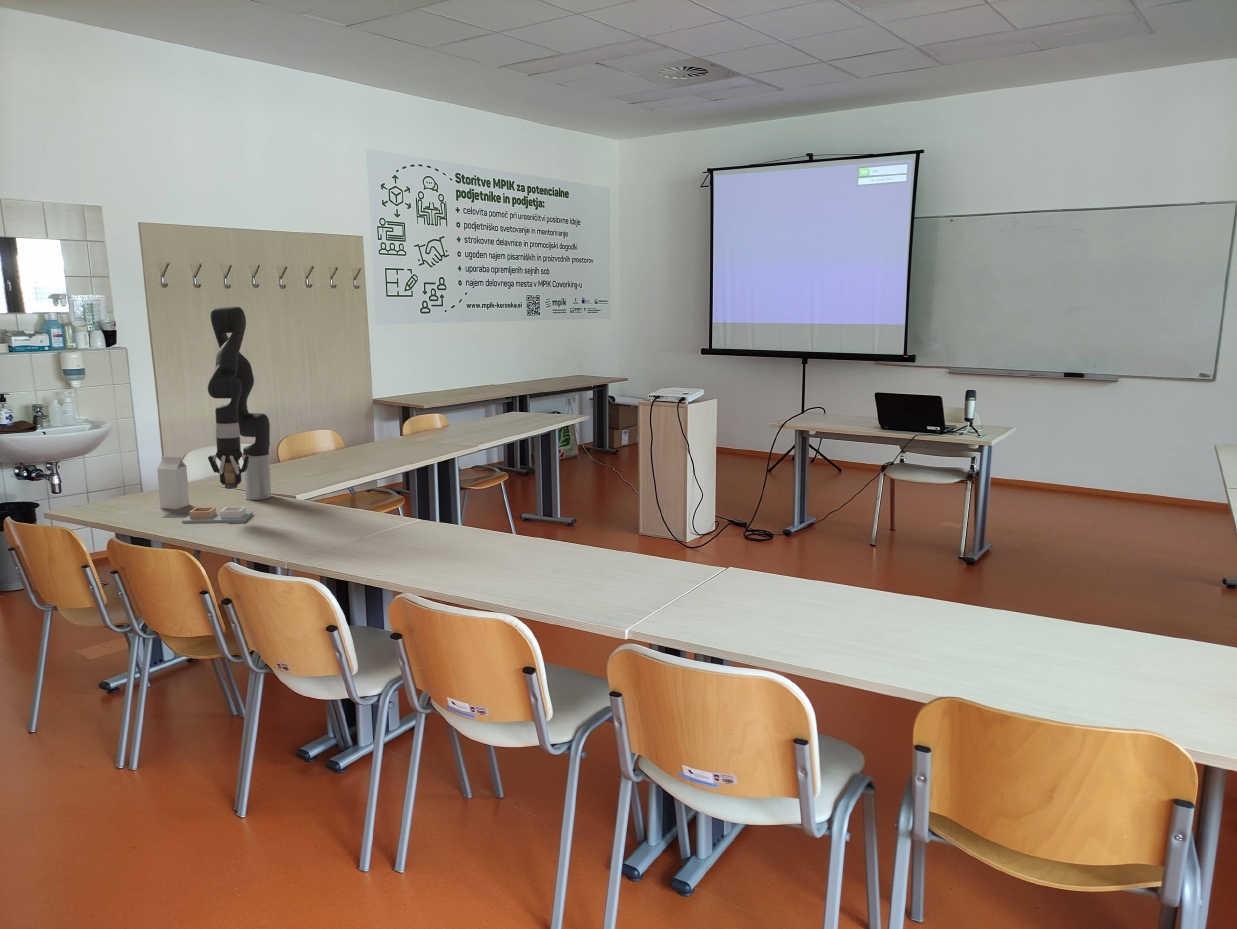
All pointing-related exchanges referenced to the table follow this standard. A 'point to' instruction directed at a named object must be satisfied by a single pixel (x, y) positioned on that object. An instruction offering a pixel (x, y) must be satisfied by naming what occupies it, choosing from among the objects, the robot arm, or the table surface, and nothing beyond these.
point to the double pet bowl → (218, 515)
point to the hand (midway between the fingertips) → (230, 484)
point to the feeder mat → (177, 514)
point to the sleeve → (229, 476)
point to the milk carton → (172, 483)
